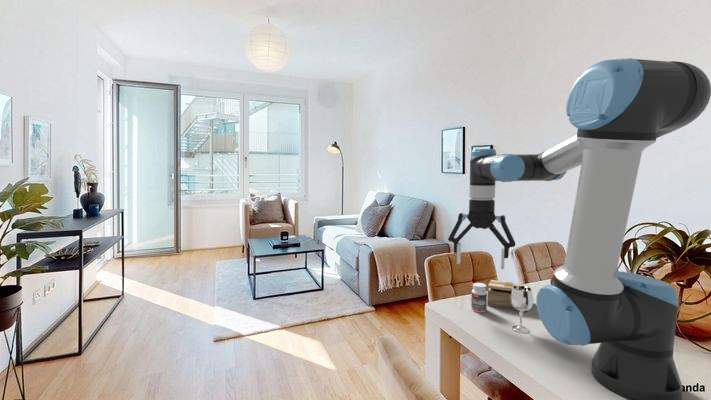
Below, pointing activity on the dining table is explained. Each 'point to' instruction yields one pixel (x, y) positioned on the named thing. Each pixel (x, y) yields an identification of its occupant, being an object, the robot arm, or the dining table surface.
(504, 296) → the crate
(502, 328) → the dining table surface
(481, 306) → the pill bottle
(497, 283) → the lid
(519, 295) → the wineglass
